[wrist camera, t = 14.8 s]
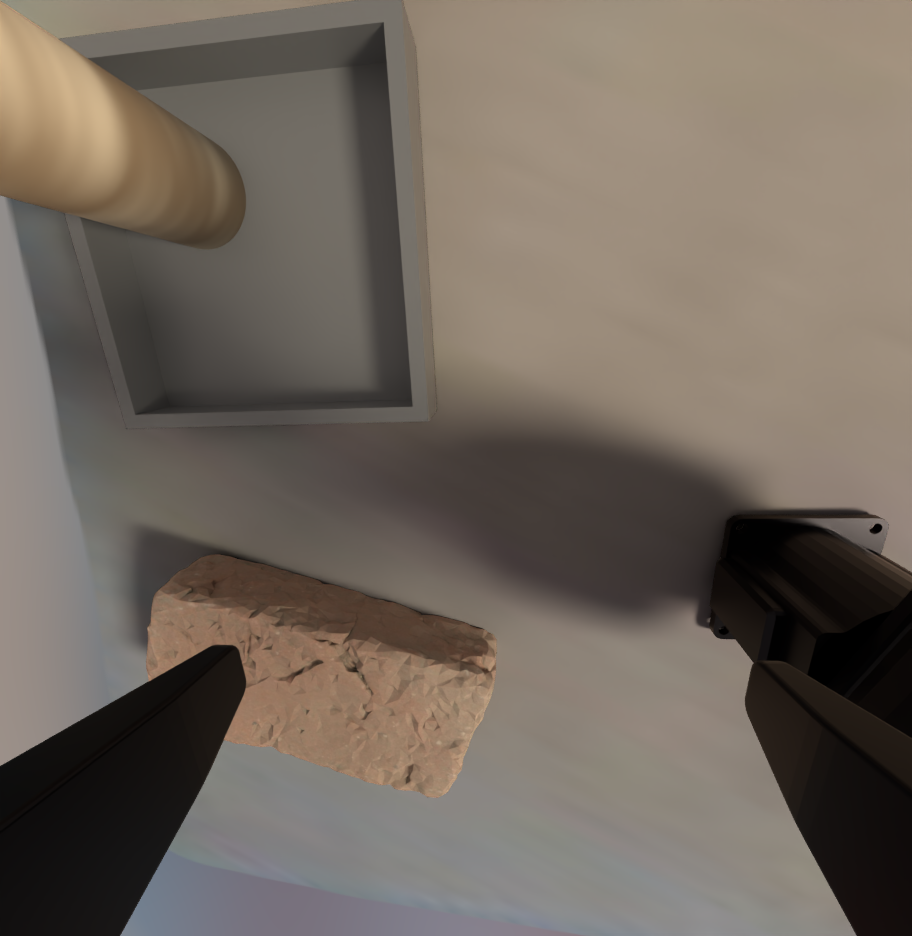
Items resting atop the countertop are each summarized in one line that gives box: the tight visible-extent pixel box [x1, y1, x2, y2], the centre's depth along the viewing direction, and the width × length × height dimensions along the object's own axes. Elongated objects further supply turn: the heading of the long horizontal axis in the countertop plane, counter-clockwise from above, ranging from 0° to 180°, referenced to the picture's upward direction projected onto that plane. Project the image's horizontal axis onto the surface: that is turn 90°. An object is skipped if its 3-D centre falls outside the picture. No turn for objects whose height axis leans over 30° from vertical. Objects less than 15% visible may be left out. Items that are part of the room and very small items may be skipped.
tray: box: [59, 0, 437, 429], centre depth 17 cm, size 13×13×2 cm
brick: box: [146, 554, 497, 798], centre depth 22 cm, size 17×8×5 cm, turn 74°
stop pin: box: [0, 1, 246, 250], centre depth 11 cm, size 5×5×13 cm
